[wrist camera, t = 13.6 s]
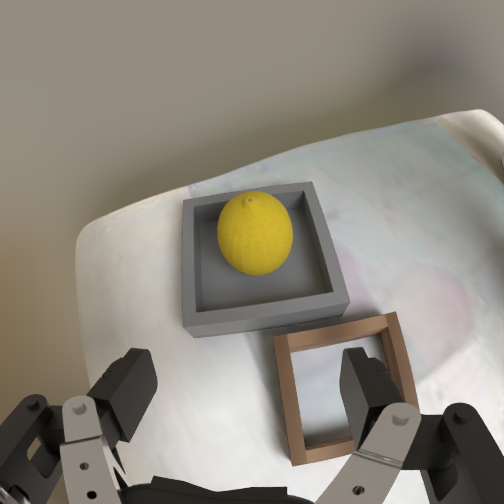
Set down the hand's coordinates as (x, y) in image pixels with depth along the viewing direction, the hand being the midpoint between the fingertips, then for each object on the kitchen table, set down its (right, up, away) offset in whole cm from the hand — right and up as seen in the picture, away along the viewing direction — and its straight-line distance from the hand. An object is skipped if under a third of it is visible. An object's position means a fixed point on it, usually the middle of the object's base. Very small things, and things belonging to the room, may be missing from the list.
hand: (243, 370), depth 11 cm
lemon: (+1, +4, +14) cm, 15 cm away
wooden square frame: (+7, -6, +8) cm, 12 cm away
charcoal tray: (+1, +4, +14) cm, 15 cm away
